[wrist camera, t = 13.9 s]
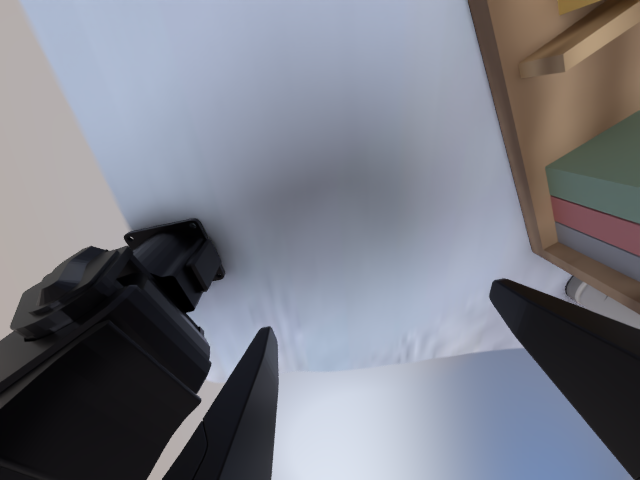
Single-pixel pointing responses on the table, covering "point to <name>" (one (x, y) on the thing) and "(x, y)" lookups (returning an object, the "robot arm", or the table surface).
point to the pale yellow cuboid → (572, 5)
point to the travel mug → (601, 303)
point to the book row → (601, 197)
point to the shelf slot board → (560, 104)
